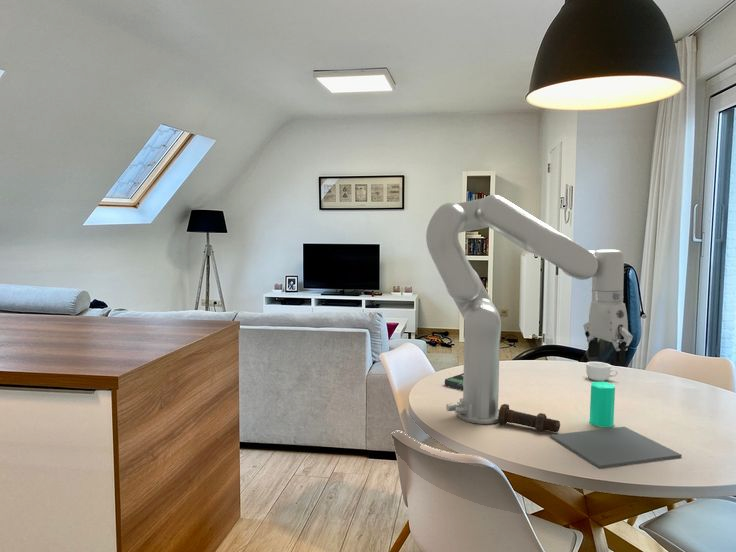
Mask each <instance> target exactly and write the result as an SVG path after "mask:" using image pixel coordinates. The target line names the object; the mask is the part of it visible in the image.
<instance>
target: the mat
mask: <svg viewBox="0 0 736 552" xmlns="http://www.w3.org/2000/svg"><path fill="white" fill-rule="evenodd" d="M549 436H550V438H551V439H553V440H554V441H556V442H557V443H558V444H560V445H562V446H564V447H565V448H566V449H568V450H570V451H571V452H573V453H574V454H576V455H577V456H579V457H581V458H582V459H584V460H586V461H587V462H588V463H590V464H592V465H594V466H595V467H596V468H597V469H604V468H605V469H606V468H612V467H618V466H626V465H632V464H641V463H649V462H656V461H663V460H670V459H678V458H682V456H683V455H682V454H681V453H679V452H677V451H676V450H673V449H671V448H669V447H667V446H664V445H663V444H661V443H659V442H657V441H655V440H653V439H650V438H649V437H646V436H645V435H642V434H641V433H638V432H636V431H634V430H632V429H630V428H628V427H625V426H617V427H606V428H599V429H591V430H583V431H582V430H580V431H574V432H565V433H554V434H550V435H549Z"/></svg>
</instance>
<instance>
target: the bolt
mask: <svg viewBox="0 0 736 552" xmlns="http://www.w3.org/2000/svg"><path fill="white" fill-rule="evenodd" d="M507 422H508V423H507ZM497 423H498V424H499V425H500V426H503V425H505V424H506V423H507V424H516V425H520V426H526V427H528V428H533V429H535V431H536V432H537V433H540V432H541V433H544V432H546V431H547V432H551V433H555V434H558V433H559V432H560V427H561V422H560V420H557V419H553V418H550V417H549V418H548V417H547V415H546V413H541V412H540V413H538V414H537V415H536V414H530V413H525V412H521V411H517V410H514V409H510V404H507V403H503V404H501V406H500V407H499V414H498V422H497ZM507 424H506V425H507ZM506 425H505V426H506ZM541 433H540V434H541Z"/></svg>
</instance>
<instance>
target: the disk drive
mask: <svg viewBox="0 0 736 552" xmlns="http://www.w3.org/2000/svg"><path fill="white" fill-rule="evenodd" d="M463 380H464V372H463V373H460V374H457V375H455V376H452V377H448V378H445V379H444V386H445V385H446V386H445V387H447V386H450V387H449V388H451V387H453V388H452V389H455V388H457V389H456V390H459V389H461V390H460V391H463Z"/></svg>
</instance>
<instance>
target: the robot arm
mask: <svg viewBox="0 0 736 552" xmlns="http://www.w3.org/2000/svg"><path fill="white" fill-rule="evenodd" d="M487 228H489V229H491V230H493V231H495V232H496V233H497V234H499V235H501V236H502V237H503V238H505V239H506V240H509V241H510V242H512V243H513V244H515V245H517V246H518V247H519V248H521V249H523V250H525V251H526V252H527V253H528V252H529V253H531V254H534V255H535V256H539V257H540V258H542V259H544V260H546V261H547V262H549V263H551V264H552V265H554V266H556V267H558V269H560V270H561V271H562V272H563V273H564V274H565V275H567V276H568V277H572V278H573V279H576V280H581V281H585V280H589V279H590V278H591V302H590V307H589V311H588V312H589V314H588V321H587V322H586V323H584V324H583V325H582V326H583V329H584V336H585V337H586V342H587V343H588V347H587V348H588V351H587V353H588V354H587V356H588V357H587V358H599V357H600V353H601V352H600V351H601V348H600V345H601V344H600V340H602V341H604V342H610V343H612V346H613V347H614V350H613V357H612V358H613V363H612V364H613V366H614V367H619V366H625V365H626V351H628V348H629V347H630V346H631V343H632V340H633V337H634V335H633V334H631V332H630V331H629V327H628V326H629V323H628V322H629V321H628V312H627V308H626V303H624V279H625V278H624V276H625V275H624V274H625V273H624V267H625V255H624V252H623V251H621V250H619V249H597V250H588V249H587V248H586V247H584V246H582V245H580V244H579V243H577V242H576V241H574V240H572V239H571V238H569V237H568V236H566V235H564V234H563V233H561V232H559V231H557V230H556V229H554V228H553V227H552V226H550V225H548V224H546V223H545V222H543V221H541V220H540V219H538V218H536V217H535V216H533V215H532V214H530V213H528V212H527V211H525V210H523V208H521V207H519V206H517V205H516V204H514V203H512V202H511V201H509V200H507V199H506V198H504V197H502V196H500V195H498V194H489V195H487V196H485V197H482V198H478V199H474V200H473V199H472V200H469V201H463V202H462V201H461V202H458V203H455V202H446V203H444V204H442V205H440V206H438V208H437V209H436V210H435V211H434V213H433V215H432V216H431V218H430V220H429V222H428V225H427V228H426V232H425V234H426V235H425V238H426V239H425V241H426V245H427V249H428V253H429V255H430V256H431V257H430V258H431V259H432V261H433V263H434V265H435V267H436V269H437V271H438V273H439V275H440V277H441V279H442V281H443V284H444V285H445V288H446V291H447V293H448V294H449V296H450V297H451V298H452V299H453V301H454V303H455V305H456V306H457V308H458V311H459V313H460V314H461V316H462V318H463V323H464V325H463V327H464V330H463V331H464V332H463V333H464V336H463V338H464V339H463V341H464V342H463V373H464V380H463V390H462V393H463V394H462V396H463V397H462V398H459V401H457V402H456V403H447V404H446V411H447V412H453V411H454V413H455V414H456V415H457V416H458V418H459V419H461V420H463V421H465V422H467V423H468V422H469V423H472V424H478V425H479V424H481V425H493V424H496V423H499V422H498V414H499V410H500V408H499V390H500V389H499V387H500V385H499V384H500V380H499V379H500V346H501V345H500V344H501V334H502V333H501V332H502V320H501V316H500V313H499V311H498V309H497V308H496V306H495V304H494V302H493V301H492V299H491V297H490V295H489V293H488V291H487V289H486V288H485V286H484V283H483V281H482V280H481V277H479V274H478V272H476V270H475V269H474V268H473V266H472V265H471V263H470V261H469V259H468V258H467V255H466V253H465V251H464V249H463V247H462V246H461V243H460V241H459V234H461V233H465V232H472V231H476V230H481V229H482V230H483V229H487Z"/></svg>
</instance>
